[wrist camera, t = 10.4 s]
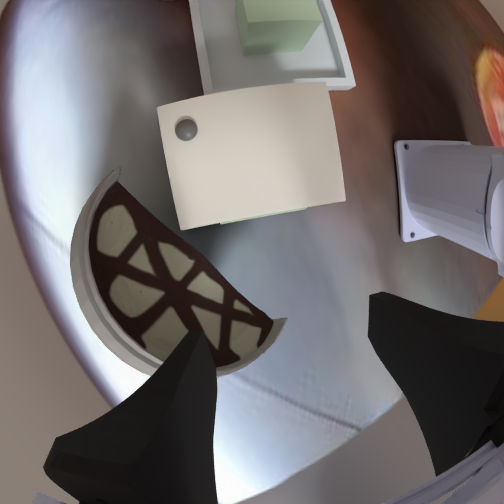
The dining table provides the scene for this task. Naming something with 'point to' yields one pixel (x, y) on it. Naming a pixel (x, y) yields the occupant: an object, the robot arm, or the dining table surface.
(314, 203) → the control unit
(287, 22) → the green part
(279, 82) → the tray
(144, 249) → the food container
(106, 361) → the dining table surface
